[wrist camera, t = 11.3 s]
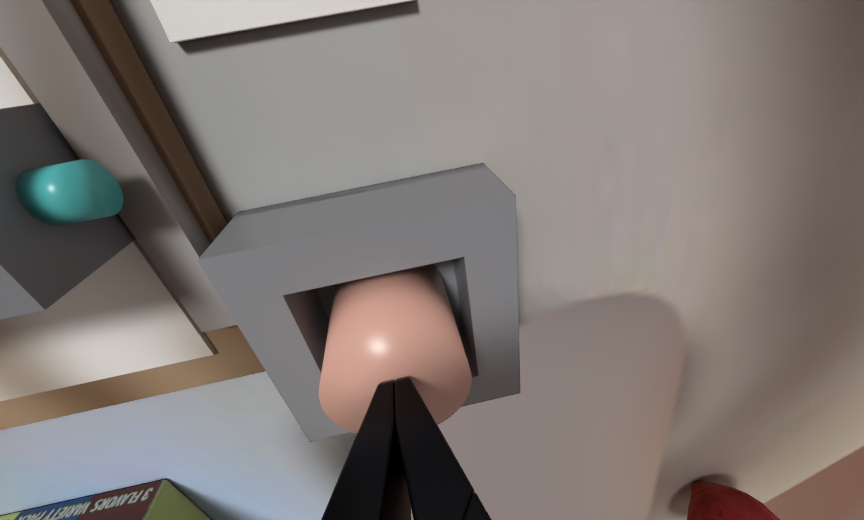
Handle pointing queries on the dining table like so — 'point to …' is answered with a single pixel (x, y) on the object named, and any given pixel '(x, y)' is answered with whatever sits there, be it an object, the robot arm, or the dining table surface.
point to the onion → (725, 504)
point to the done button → (392, 345)
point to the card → (246, 14)
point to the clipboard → (142, 213)
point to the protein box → (120, 506)
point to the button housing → (372, 274)
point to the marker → (51, 213)
